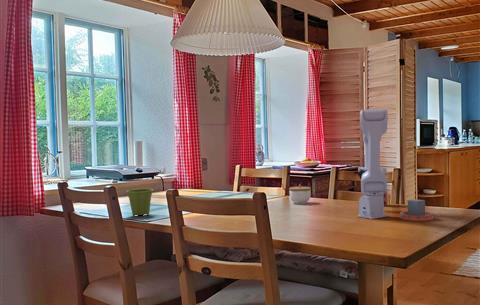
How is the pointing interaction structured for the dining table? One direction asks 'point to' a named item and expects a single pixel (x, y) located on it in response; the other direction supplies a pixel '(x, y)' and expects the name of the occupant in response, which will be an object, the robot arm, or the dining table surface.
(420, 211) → the slate block
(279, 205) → the dining table surface
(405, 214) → the terracotta dish
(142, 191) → the plant pot
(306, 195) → the lidded jar
